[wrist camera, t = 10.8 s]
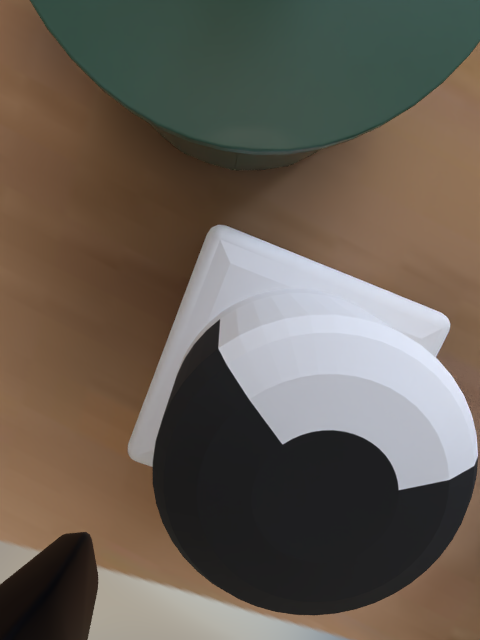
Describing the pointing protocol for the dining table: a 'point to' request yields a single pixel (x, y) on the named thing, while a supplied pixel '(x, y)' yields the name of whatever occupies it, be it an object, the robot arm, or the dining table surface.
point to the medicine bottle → (304, 431)
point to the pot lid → (265, 63)
